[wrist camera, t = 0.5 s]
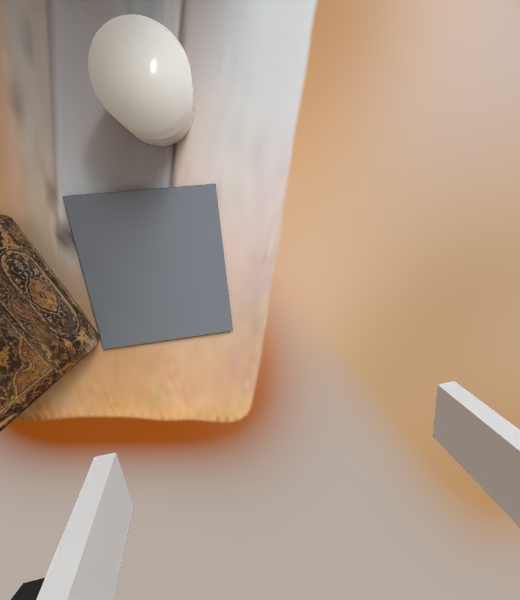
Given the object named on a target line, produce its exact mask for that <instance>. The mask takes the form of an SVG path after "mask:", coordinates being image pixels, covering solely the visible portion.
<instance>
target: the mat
mask: <svg viewBox="0 0 520 600" xmlns="http://www.w3.org/2000/svg"><path fill="white" fill-rule="evenodd" d="M63 200H64V204H65V207H66V211H67V215H68V218H69V222H70V226H71V230H72V233H73V237H74V241H75V244H76V248H77V252H78V256H79V259H80V263H81V267H82V270H83V274H84V278H85V281H86V285H87V289H88V293H89V296H90V300H91V304H92V307H93V311H94V315H95V319H96V322H97V326H98V330H99V333H100V337H101V341H102V344H103V348H104V349H110V348H117V347H124V346H131V345H138V344H145V343H151V342H158V341H165V340H172V339H179V338H186V337H193V336H199V335H206V334H213V333H220V332H227V331H233V328H232V319H231V311H230V303H229V294H228V286H227V277H226V269H225V261H224V252H223V244H222V236H221V227H220V219H219V211H218V202H217V194H216V185H215V184H207V185H195V186H182V187H170V188H158V189H146V190H134V191H122V192H109V193H97V194H85V195H73V196H63Z"/></svg>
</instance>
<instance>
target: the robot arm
mask: <svg viewBox="0 0 520 600" xmlns="http://www.w3.org/2000/svg"><path fill="white" fill-rule="evenodd" d="M433 437H434V438H435V439H436V440H437V441H438V442H439V443H440V444H441V445H442V446H443V447H444V449H445V450H446V451H447V452H448V453H449V454H450V455H451V456H452V457H453V458H454V459H455V460H456V461H457V462H458V463H459V464H460V465H461V466H462V467H463V468H464V469H465V470H466V472H467V473H468V474H469V475H470V476H471V477H472V478H473V479H474V480H475V481H476V482H477V483H478V484H479V485H480V486H481V487H482V488H483V489H484V490H485V491H486V493H487V494H488V495H489V496H490V497H491V498H492V499H493V500H494V501H495V502H496V503H497V504H498V505H499V506H500V507H501V508H502V509H503V510H504V512H505V513H506V514H507V515H508V516H509V517H510V518H511V519H512V520H513V521H514V522H515V523H516V524H517V525H518V526H519V527H520V430H519V429H518V428H516V427H515V426H514V425H512V424H511V423H510V422H508V421H507V420H505V419H504V418H503V417H501V416H500V415H499V414H498V413H496V412H495V411H493V410H492V409H491V408H489V407H488V406H487V405H485V404H484V403H483V402H481V401H480V400H479V399H477V398H476V397H475V396H473V395H472V394H471V393H469V392H468V391H466V390H465V389H464V388H462V387H461V386H460V385H458V384H457V383H456V382H454V381H453V382H448V383H443V384H439V385H438V388H437V399H436V410H435V421H434V431H433ZM133 507H134V505H133V503H132V499H131V496H130V493H129V490H128V487H127V484H126V481H125V478H124V475H123V472H122V469H121V466H120V463H119V460H118V457H117V454H116V453H111V454H107V455H102V456H97V457H94V459H93V462H92V464H91V467H90V469H89V471H88V474H87V476H86V479H85V482H84V484H83V486H82V489H81V491H80V494H79V496H78V498H77V501H76V504H75V506H74V508H73V511H72V513H71V516H70V518H69V521H68V523H67V526H66V528H65V531H64V533H63V536H62V538H61V540H60V543H59V545H58V548H57V550H56V553H55V555H54V557H53V560H52V562H51V565H50V567H49V570H48V572H47V575H46V577H45V578H43V579H38V580H35V581H31V582H27V583H23V585H22V586H21V587H20V589H19V590H18V591H17V592H16V594H15V595H14V596H13V598H12V599H11V600H113V599H114V595H115V590H116V586H117V581H118V577H119V572H120V567H121V563H122V558H123V553H124V549H125V544H126V540H127V535H128V530H129V525H130V521H131V517H132V512H133Z"/></svg>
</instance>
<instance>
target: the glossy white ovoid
mask: <svg viewBox="0 0 520 600" xmlns="http://www.w3.org/2000/svg"><path fill="white" fill-rule="evenodd" d="M88 72H89V78H90V82H91V85H92V87H93V90H94V92H95V94H96V96H97V98H98V100H99V101H100V103H101V104H102V106H103V107H104V108H105V109H106V110H107V111H108V112H109V113H110V114H111V115H112V116H113V117H114V118H115V119H116V120H117V121H119V122H120V123H121V124H122V125H123V126H124V127H125V128H126V129H128V130H129V131H130V132H131V133H132V134H133V135H134V136H136V137H137V138H138V139H140V140H141V141H143V142H145V143H147V144H150V145H154V146H169V145H172V144H174V143H177V142H178V141H180V140H181V139H182V138H183V137H184V136H185V135H186V134H187V133H188V131H189V129H190V127H191V125H192V122H193V118H194V99H193V87H192V75H191V69H190V64H189V61H188V58H187V56H186V53H185V51H184V49H183V47H182V46H181V44H180V43H179V41H178V40H177V38H176V37H175V36H174V35H173V34H172V33H171V32H170V31H169V30H168V29H167V28H166V27H165V26H163V25H162V24H160V23H159V22H157V21H155V20H153V19H151V18H149V17H146V16H142V15H136V14H127V15H121V16H117V17H115V18H113V19H111V20H109V21H108V22H106V23H105V24H104V25H103V26H102V27H100V29H99V30H98V31H97V33H96V34H95V36H94V38H93V40H92V42H91V45H90V48H89V53H88Z"/></svg>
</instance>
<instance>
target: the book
mask: <svg viewBox="0 0 520 600" xmlns="http://www.w3.org/2000/svg"><path fill="white" fill-rule="evenodd" d="M98 342H99V334H98V333H97V331H96V330H95V328H94V327H93V325H92V324H91V323H90V321H89V320H88V318H87V317H86V315H85V314H84V313H83V311H82V310H81V309H80V307H79V306H78V305H77V303H76V302H75V301H74V299H73V298H72V297H71V295H70V294H69V293H68V292H67V290H66V289H65V288H64V286H63V285H62V284H61V282H60V281H59V280H58V278H57V277H56V276H55V274H54V273H53V272H52V270H51V269H50V268H49V267H48V265H47V264H46V263H45V261H44V260H43V259H42V257H41V256H40V255H39V253H38V252H37V251H36V249H35V248H34V247H33V246H32V244H31V243H30V242H29V240H28V239H27V238H26V236H25V235H24V234H23V232H22V231H21V230H20V228H19V227H18V226H17V225H16V223H15V222H14V221H13V219H12V218H10V217H8V216H5V215H0V431H1V430H3V429H4V428H5V427H6V426H7V425H8V424H9V423H11V422H12V421H13V420H14V419H15V418H16V417H17V416H18V415H20V414H21V413H22V412H23V411H24V410H25V409H26V408H27V407H29V406H30V405H31V404H32V403H33V402H34V401H35V400H36V399H38V398H39V397H40V396H41V395H42V394H43V393H44V392H45V391H47V390H48V389H49V388H50V387H51V386H52V385H53V384H54V383H56V382H57V381H58V380H59V379H60V378H61V377H62V376H63V375H65V374H66V373H67V372H68V371H69V370H70V369H71V368H73V367H74V366H75V365H76V364H77V363H78V362H79V361H80V360H82V359H83V358H84V357H85V356H86V355H87V354H88V353H89V352H90V351H91V350H93V348H94V347H95V346H96V345H97V343H98Z"/></svg>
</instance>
